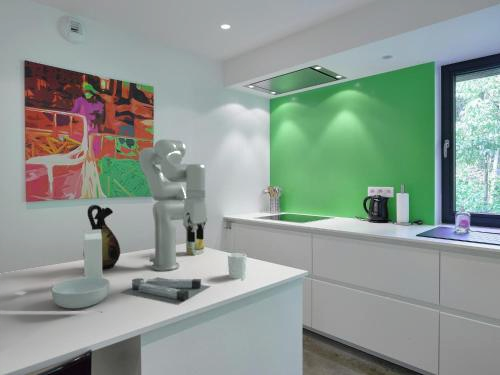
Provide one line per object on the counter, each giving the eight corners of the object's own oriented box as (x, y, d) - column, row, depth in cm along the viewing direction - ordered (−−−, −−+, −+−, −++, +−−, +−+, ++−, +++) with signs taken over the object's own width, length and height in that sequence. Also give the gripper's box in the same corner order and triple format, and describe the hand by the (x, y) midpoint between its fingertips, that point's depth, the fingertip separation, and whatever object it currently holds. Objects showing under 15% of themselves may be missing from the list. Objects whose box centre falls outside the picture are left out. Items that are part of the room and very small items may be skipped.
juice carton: (194, 256, 176) (194, 211, 175) (184, 254, 180) (184, 211, 179) (206, 252, 184) (206, 210, 183) (195, 251, 188) (195, 209, 187)
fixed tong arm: (138, 291, 117) (138, 284, 117) (143, 289, 119) (143, 282, 119) (183, 300, 108) (183, 293, 108) (188, 298, 111) (188, 290, 111)
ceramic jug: (104, 263, 160) (103, 202, 159) (127, 267, 153) (127, 204, 152) (72, 272, 144) (71, 205, 144) (96, 277, 138) (95, 206, 137)
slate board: (119, 295, 117) (119, 292, 117) (157, 279, 135) (157, 277, 135) (178, 307, 106) (178, 304, 106) (210, 289, 124) (210, 286, 124)
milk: (102, 287, 125) (102, 230, 125) (84, 289, 122) (84, 231, 122) (100, 282, 131) (100, 228, 130) (84, 284, 128) (83, 229, 127)
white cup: (244, 282, 132) (244, 257, 132) (225, 280, 134) (225, 256, 134) (248, 276, 140) (248, 253, 140) (230, 275, 142) (230, 252, 141)
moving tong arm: (130, 289, 119) (130, 281, 119) (135, 285, 124) (135, 277, 124) (198, 290, 119) (198, 281, 119) (200, 285, 124) (200, 277, 124)
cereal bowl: (49, 320, 96) (49, 296, 96) (53, 301, 111) (53, 280, 111) (111, 309, 104) (111, 287, 104) (107, 293, 119) (107, 274, 119)
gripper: (199, 194, 139) (199, 236, 139) (174, 195, 123) (174, 243, 124) (215, 194, 135) (214, 237, 136) (190, 196, 120) (190, 245, 120)
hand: (195, 240), depth 130 cm, fingers open, 5 cm apart
